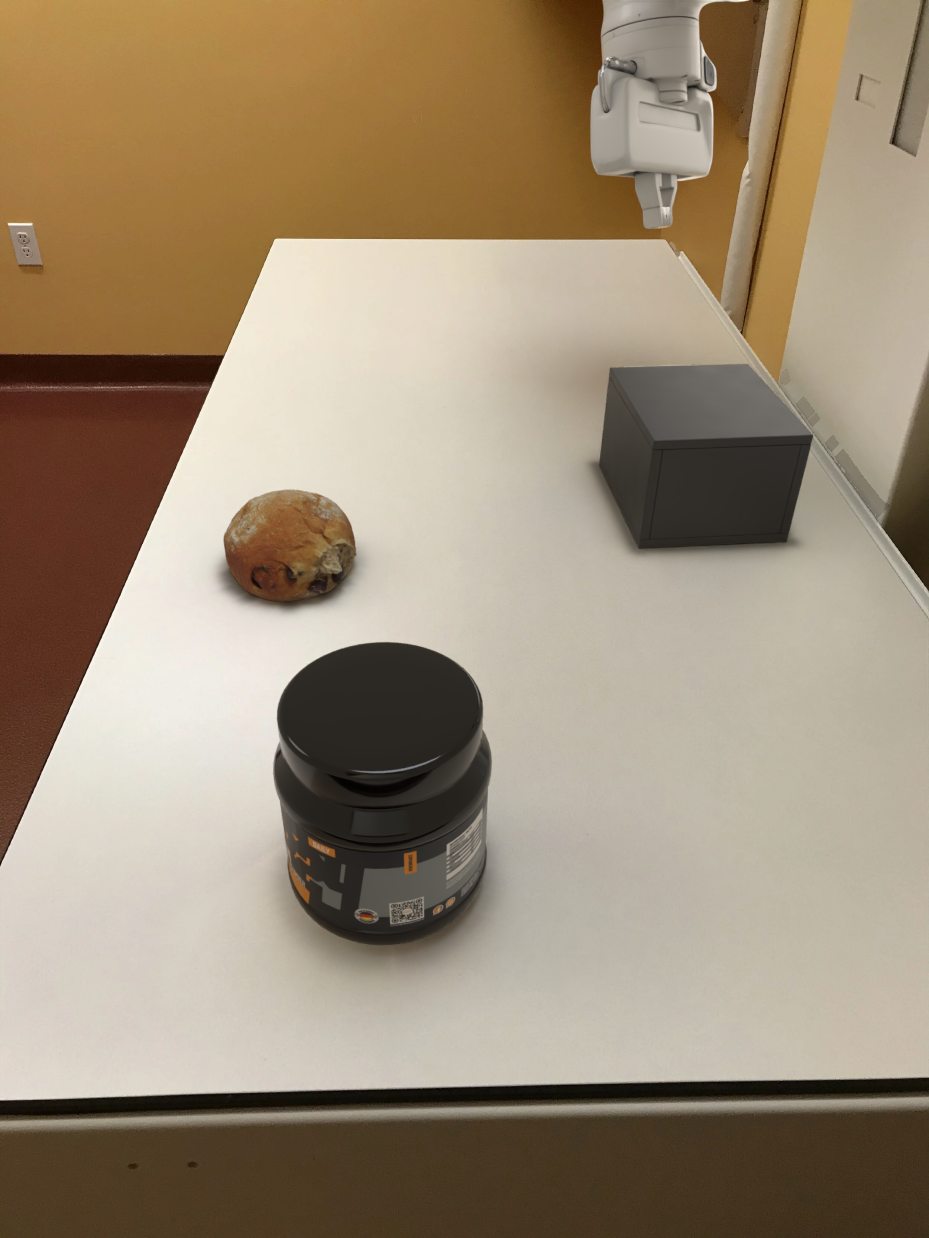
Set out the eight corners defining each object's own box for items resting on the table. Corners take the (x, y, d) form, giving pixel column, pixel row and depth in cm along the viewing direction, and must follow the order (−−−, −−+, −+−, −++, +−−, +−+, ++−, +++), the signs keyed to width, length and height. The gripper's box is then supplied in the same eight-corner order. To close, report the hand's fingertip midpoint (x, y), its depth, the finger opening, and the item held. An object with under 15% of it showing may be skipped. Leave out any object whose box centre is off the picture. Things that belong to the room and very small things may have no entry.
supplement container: (301, 798, 55) (281, 632, 48) (483, 797, 56) (489, 632, 49) (276, 957, 47) (246, 785, 40) (490, 956, 47) (499, 784, 40)
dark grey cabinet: (598, 465, 90) (609, 367, 84) (728, 460, 91) (748, 363, 85) (638, 548, 78) (653, 440, 72) (787, 541, 79) (814, 435, 74)
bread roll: (349, 574, 81) (335, 479, 79) (374, 591, 71) (358, 483, 69) (230, 594, 78) (213, 496, 76) (239, 614, 68) (219, 502, 67)
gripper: (634, 43, 79) (643, 223, 83) (723, 72, 94) (727, 223, 99) (566, 61, 82) (578, 233, 87) (663, 86, 98) (669, 231, 102)
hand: (658, 228), depth 93 cm, fingers closed
